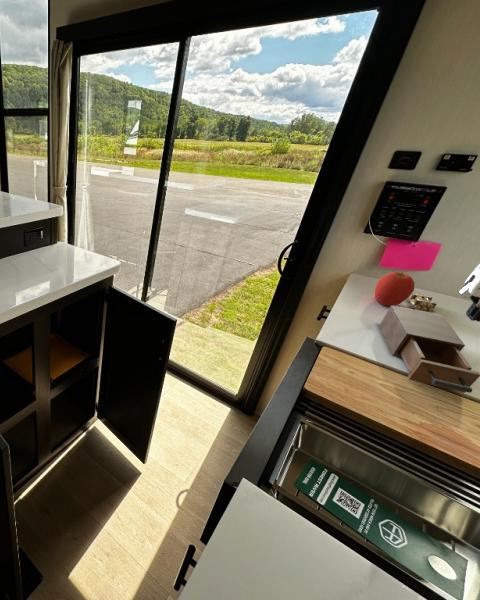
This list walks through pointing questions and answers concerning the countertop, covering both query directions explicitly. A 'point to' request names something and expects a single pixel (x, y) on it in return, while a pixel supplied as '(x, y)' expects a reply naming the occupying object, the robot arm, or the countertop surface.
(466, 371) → the drawer
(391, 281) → the apple
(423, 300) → the bundle
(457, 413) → the countertop surface
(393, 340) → the cabinet
